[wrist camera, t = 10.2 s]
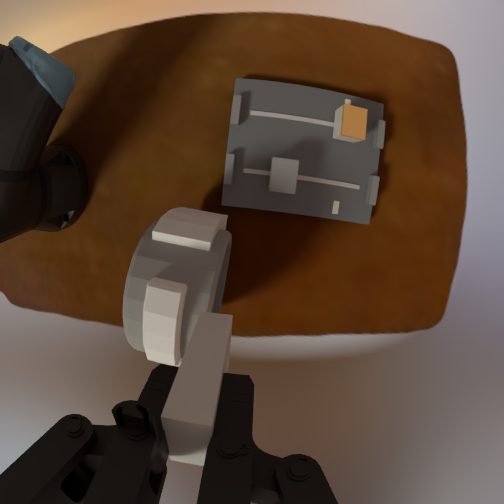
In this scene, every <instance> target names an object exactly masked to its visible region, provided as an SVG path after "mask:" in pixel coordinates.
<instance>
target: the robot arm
mask: <svg viewBox="0 0 504 504" xmlns="http://www.w3.org/2000/svg"><path fill="white" fill-rule="evenodd" d="M75 84H76V75H75V72H74V71H73V70H72V69H71V68H69V67H68V66H67V65H65V64H64V63H62V62H61V61H59V60H58V59H56V58H55V57H53V56H51V55H50V54H48V53H47V52H45V51H43V50H42V49H40V48H38V47H37V46H34V45H33V44H31V43H30V42H28V41H26V40H25V39H23V38H21V37H19V36H16V37H14V38H13V39H12V40H11V41H10V42H9V46H5V45H2V44H0V243H2V242H4V241H6V240H9V239H11V238H13V237H16V236H18V235H20V234H23V233H25V232H28V231H30V230H40V231H48V232H56V231H60V230H62V229H65V228H68V227H69V226H71V225H72V224H74V223H75V222H76V220H77V219H78V218H79V216H80V215H81V213H82V211H83V208H84V206H85V202H86V198H87V175H86V170H85V167H84V164H83V162H82V160H81V158H80V157H79V155H78V154H77V153H76V152H75V151H74V150H73V149H71V148H70V147H68V146H65V145H49V146H46V144H47V141H48V139H49V137H50V135H51V133H52V131H53V128H54V126H55V124H56V122H57V120H58V118H59V116H60V114H61V113H62V111H63V110H64V109H65V104H66V102H67V100H68V98H69V96H70V94H71V92H72V90H73V88H74V86H75ZM45 146H46V147H45ZM232 318H233V315H226V314H218V313H210V312H202V311H201V313H200V316H199V318H198V321H197V323H196V326H195V328H194V331H193V333H192V336H191V338H190V341H189V343H188V346H187V349H186V351H185V354H184V356H183V359H182V361H181V364H180V367H177V366H171V365H166V364H160V365H159V366H157V367H156V368H155V369H153V370H152V372H151V374H150V376H149V378H148V381H147V382H146V384H145V386H144V389H143V390H142V392H141V395H140V397H139V399H138V401H133V400H129V401H124V402H121V403H119V404H117V405H115V407H114V408H113V409H112V413H113V416H114V418H115V421H116V424H117V425H110V426H104V425H92V424H91V422H90V421H89V420H88V419H87V418H86V417H84V416H82V415H80V414H70V415H66V416H65V417H63V418H61V419H60V420H59V421H58V422H57V423H56V424H55V425H54V426H53V427H51V428H50V429H49V430H48V431H47V432H46V433H45V434H44V435H43V436H42V437H41V438H40V439H39V440H37V441H36V442H35V443H34V444H33V445H32V446H31V447H30V448H29V449H28V450H27V451H25V452H24V453H23V454H22V455H21V456H20V457H19V458H18V459H17V460H16V461H15V462H14V463H12V464H11V465H10V466H9V467H8V468H7V469H6V470H5V471H4V472H3V473H2V474H1V475H0V504H159V501H160V497H161V493H162V489H163V485H164V481H165V478H166V474H167V466H166V462H167V459H168V455H169V457H170V460H174V461H179V462H183V463H189V464H195V465H201V466H204V467H203V473H202V478H201V484H200V489H199V495H198V500H197V504H250V502H253V503H257V504H338V502H337V500H336V498H335V496H334V494H333V492H332V490H331V488H330V486H329V484H328V482H327V480H326V477H325V476H324V473H323V471H322V469H321V467H320V465H319V464H318V463H317V461H316V460H314V459H312V458H311V457H309V456H306V455H302V454H292V455H289V456H287V457H284V458H280V457H277V456H273V455H270V454H268V453H265V452H263V451H262V450H261V449H259V448H258V447H257V446H256V445H255V443H254V441H253V438H252V424H253V401H254V384H253V382H252V380H251V378H250V376H249V375H239V374H230V373H227V371H228V365H229V356H230V343H231V331H232Z"/></svg>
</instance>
